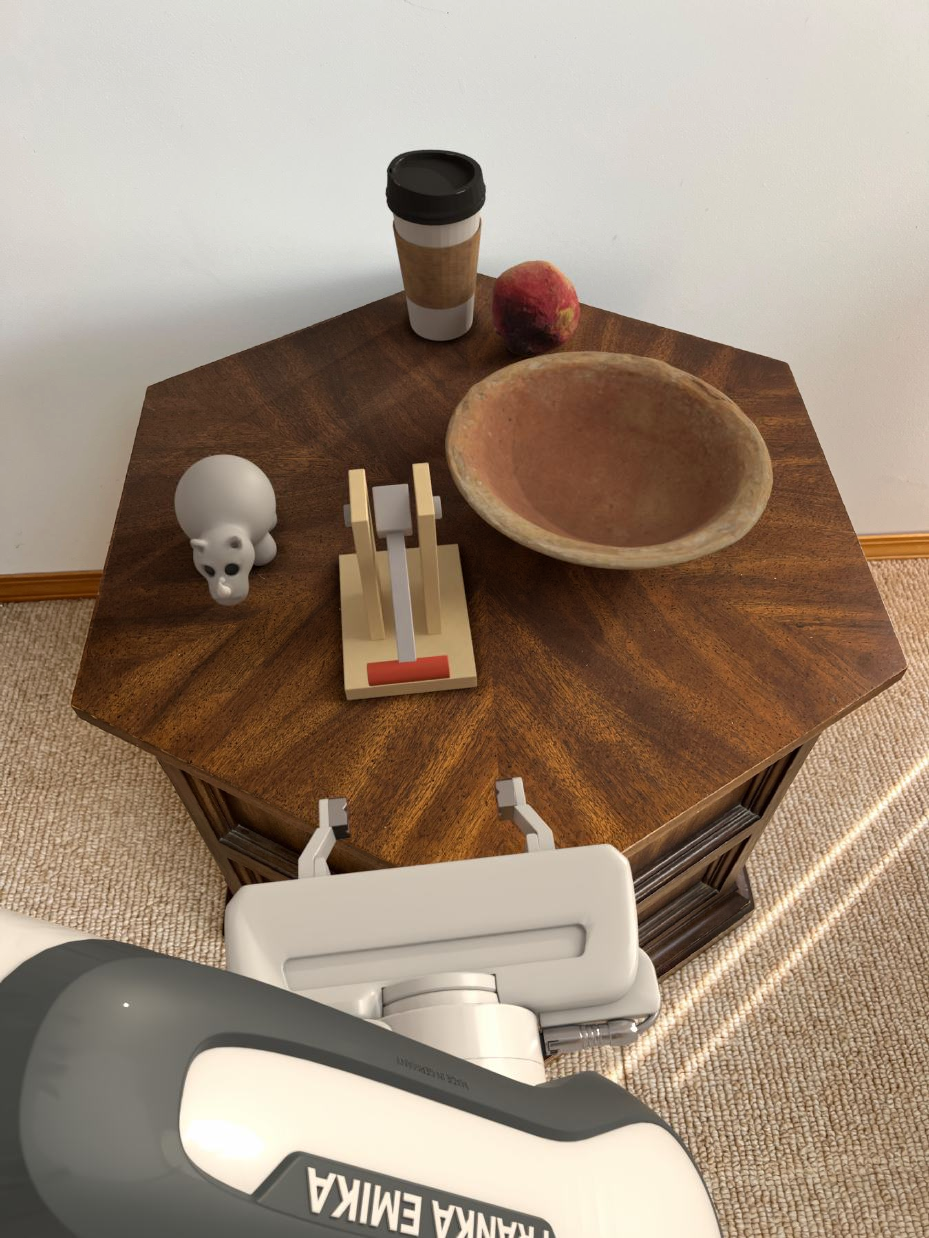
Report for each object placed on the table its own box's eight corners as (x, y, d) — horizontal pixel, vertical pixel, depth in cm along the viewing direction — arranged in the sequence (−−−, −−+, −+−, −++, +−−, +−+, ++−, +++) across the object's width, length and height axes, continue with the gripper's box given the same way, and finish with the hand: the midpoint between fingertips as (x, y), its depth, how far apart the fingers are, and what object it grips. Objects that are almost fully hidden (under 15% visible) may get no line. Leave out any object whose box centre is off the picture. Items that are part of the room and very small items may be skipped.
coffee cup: (394, 298, 92) (380, 145, 80) (480, 291, 92) (479, 138, 80) (400, 353, 87) (386, 198, 75) (491, 345, 87) (492, 190, 75)
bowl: (803, 595, 70) (836, 523, 63) (493, 665, 66) (494, 596, 60) (682, 391, 83) (698, 314, 77) (419, 440, 80) (414, 364, 73)
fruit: (585, 332, 88) (593, 255, 82) (560, 383, 84) (566, 306, 78) (507, 314, 90) (508, 238, 83) (478, 363, 86) (478, 286, 79)
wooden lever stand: (476, 687, 65) (475, 559, 54) (346, 700, 65) (318, 574, 54) (458, 555, 72) (453, 418, 61) (341, 566, 72) (314, 430, 61)
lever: (449, 678, 59) (450, 677, 57) (370, 687, 59) (367, 685, 57) (430, 490, 60) (430, 481, 58) (352, 497, 60) (349, 488, 58)
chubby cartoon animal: (183, 639, 68) (149, 564, 61) (197, 516, 75) (168, 436, 68) (283, 631, 68) (260, 555, 62) (287, 509, 75) (267, 429, 69)
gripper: (682, 1022, 41) (616, 743, 49) (208, 1082, 40) (221, 786, 48) (660, 1054, 46) (604, 796, 54) (240, 1107, 45) (247, 836, 53)
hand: (421, 792), depth 51 cm, fingers open, 8 cm apart
